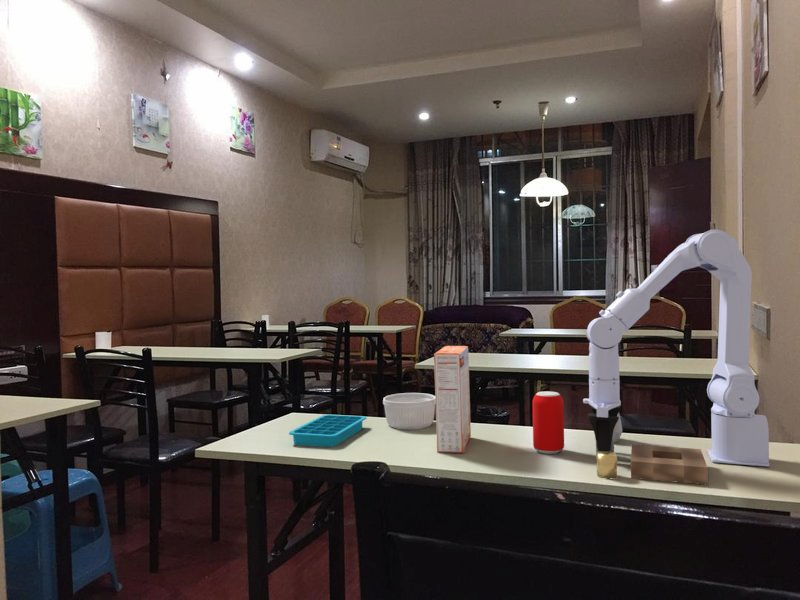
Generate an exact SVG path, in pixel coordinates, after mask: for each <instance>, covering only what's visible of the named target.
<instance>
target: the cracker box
mask: <svg viewBox="0 0 800 600" xmlns="http://www.w3.org/2000/svg"><path fill="white" fill-rule="evenodd" d="M469 357H470V356H469V346H468V345H467V346H466V345H445V346H443V347H441V349H439V350H438V351H436V352H435V353H434V354H433V363H434V368H433V369H434V391H435V392H434V393H435V394H434V396H435V399H436V403H435V422H436V429H435V430H436V450H437V451H436V452H437V453H444V454H447V453H452V454H463V453H465V451H466V450H465V449H466V448H467V446H468V443H469V441H470V439H471V436H472V434H471V432H472V431H471V428H472V427H471V402H470V401H471V400H470V399H471V396H470V395H471V394H470V365H469Z"/></svg>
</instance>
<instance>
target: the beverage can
mask: <svg viewBox="0 0 800 600" xmlns="http://www.w3.org/2000/svg"><path fill="white" fill-rule="evenodd" d="M564 402H565V401H564V399H563V397H562V395H561V393H559V392H556V391H549V390H547V391H538V392H537V393H535V395H534V396H533V398H532V442H533V443H532V444H533V445H532V446H533V448H534V449H535V450H536V451H537V452H538V453H541V454H545V455H554V454H555V455H556V454H558V453H559V452H561V451H563V449H564V448H565V410H564V409H565V406H564V405H565V403H564Z"/></svg>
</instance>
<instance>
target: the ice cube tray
mask: <svg viewBox="0 0 800 600" xmlns="http://www.w3.org/2000/svg"><path fill="white" fill-rule="evenodd" d="M365 420H367V417H366V416H364V415H347V414H346V415H345V414H344V415H342V414H324V415H321V416H318V417H317V418H314V419H312V420H311V421H309V422H306V423H305V424H301V426H298V427H296V428H294V429H292V430H289V433H288V435H290V436H293V437H292V439H293V445H295V446H309V447H310V446H312V447H325V448H326V447H327V448H332V447H336V446H337V445H339V444H341V443H342V442H344V441H345V440H347V439H349V438H351V437H352V436H353V435H355V434H356V433H358V432H360V431H361V430H362V429H363V422H364V421H365Z"/></svg>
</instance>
